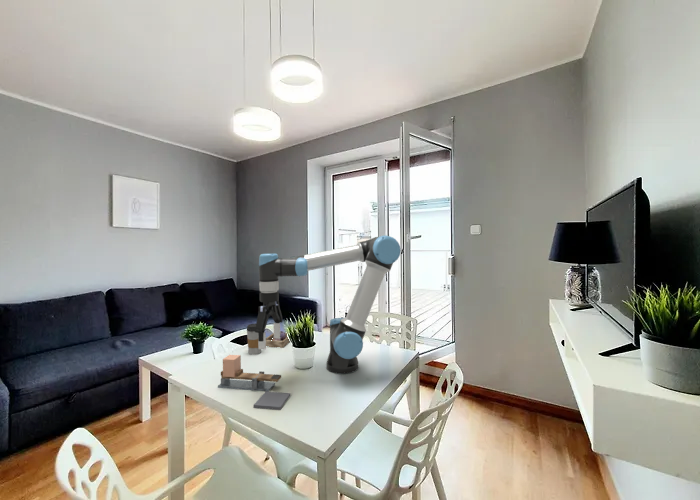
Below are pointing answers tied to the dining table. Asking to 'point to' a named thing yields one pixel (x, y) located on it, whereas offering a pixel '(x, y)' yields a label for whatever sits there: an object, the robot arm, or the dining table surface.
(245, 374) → the lever
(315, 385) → the dining table surface
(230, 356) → the block
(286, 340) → the rock tray
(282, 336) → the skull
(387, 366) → the dining table surface
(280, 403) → the pad
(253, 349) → the coffee cup
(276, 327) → the robot arm
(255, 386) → the fulcrum
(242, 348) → the dining table surface
